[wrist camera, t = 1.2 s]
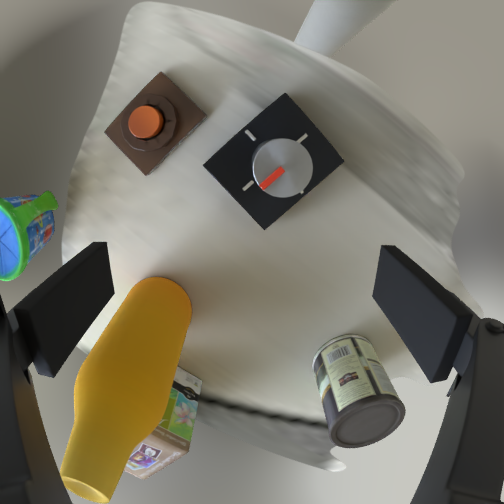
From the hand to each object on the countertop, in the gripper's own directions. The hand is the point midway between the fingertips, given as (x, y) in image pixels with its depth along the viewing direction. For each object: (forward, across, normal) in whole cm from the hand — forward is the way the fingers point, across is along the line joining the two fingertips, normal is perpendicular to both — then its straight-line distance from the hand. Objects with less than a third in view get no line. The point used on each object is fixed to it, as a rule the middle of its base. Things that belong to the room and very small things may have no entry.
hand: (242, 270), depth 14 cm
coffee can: (+24, +16, -26) cm, 39 cm away
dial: (+21, +3, +4) cm, 21 cm away
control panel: (+24, +3, +4) cm, 24 cm away
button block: (+24, -11, +8) cm, 28 cm away
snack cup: (+24, -30, -3) cm, 39 cm away
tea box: (+24, -15, -33) cm, 43 cm away
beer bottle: (+24, -12, -16) cm, 31 cm away
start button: (+21, -11, +8) cm, 25 cm away
